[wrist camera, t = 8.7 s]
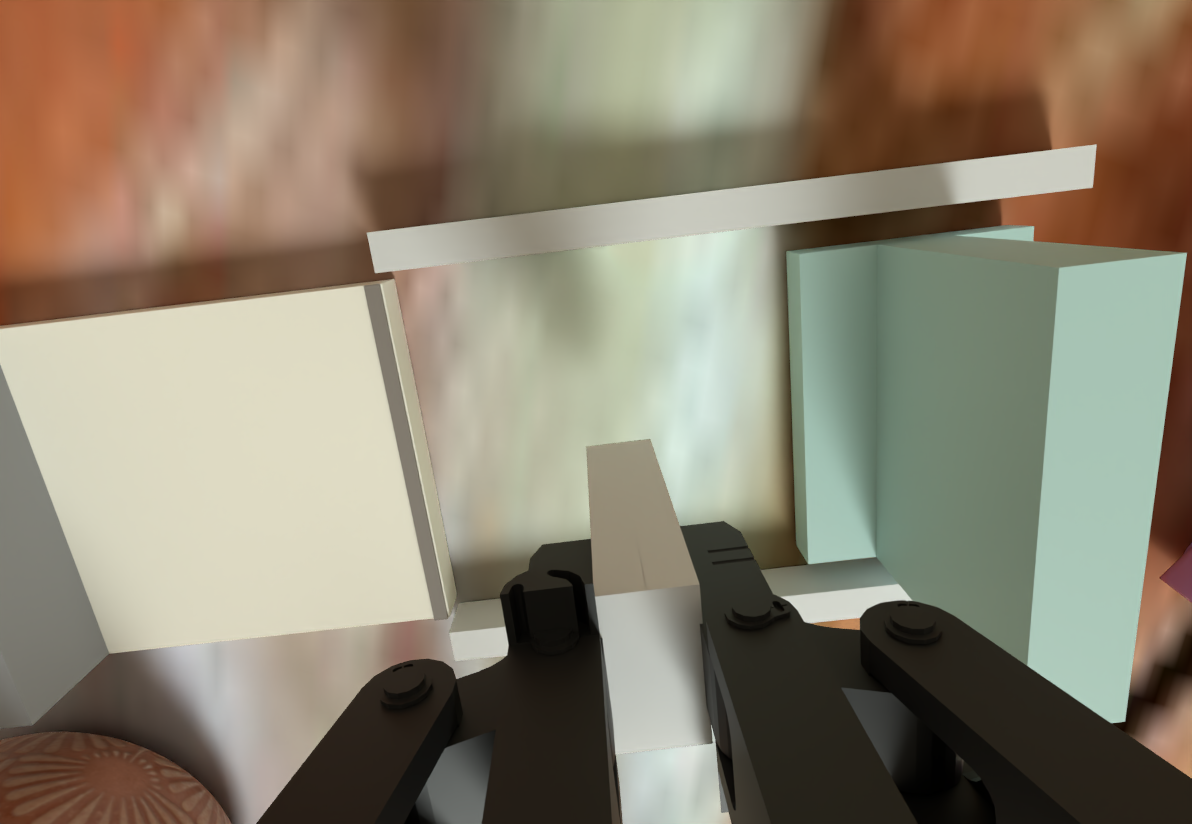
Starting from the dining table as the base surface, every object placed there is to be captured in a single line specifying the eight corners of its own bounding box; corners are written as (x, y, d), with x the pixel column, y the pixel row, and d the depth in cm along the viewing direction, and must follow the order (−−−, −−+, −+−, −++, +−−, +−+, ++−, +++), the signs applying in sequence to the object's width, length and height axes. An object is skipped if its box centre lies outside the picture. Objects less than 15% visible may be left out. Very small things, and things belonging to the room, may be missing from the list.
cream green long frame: (42, 675, 22) (-78, 778, 18) (-118, 290, 19) (-311, 313, 15) (1022, 569, 22) (1121, 651, 18) (1053, 150, 18) (1186, 132, 14)
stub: (796, 544, 21) (919, 743, 13) (786, 251, 19) (932, 282, 11) (989, 523, 21) (1228, 711, 13) (1006, 225, 19) (1315, 238, 11)
